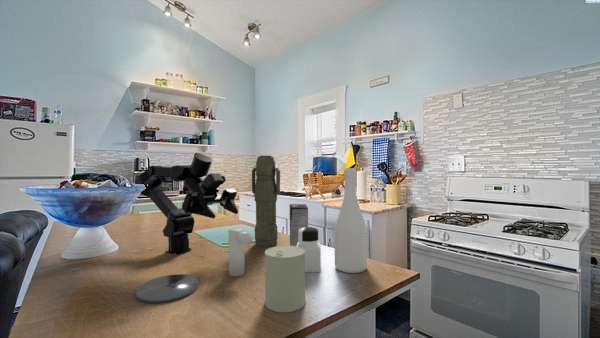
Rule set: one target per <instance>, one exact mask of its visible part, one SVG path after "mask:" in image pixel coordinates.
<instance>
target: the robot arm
mask: <svg viewBox="0 0 600 338" xmlns="http://www.w3.org/2000/svg"><path fill="white" fill-rule="evenodd" d="M212 162H213V158H212V157H210V156H207V155H205V154H202V153H201V152H195V153H194V155H193V159H192V161H191V164H190V165H185V164H184V165H183V164H180V165H179V164H177V165H172V166H164V165H163V166H162V165H149V166H148V167H147V168H146V170H144V171H143V172H142V173H141V174H139V175H138V177H137V179H136V180H135V181H134V185H135V184H144V185H145V187H146V189H145V190H144V191H142V192H141V193H139V194H140V195H141V196H144V197H148V198H149V199H150V200H151V201H152V202H153V203H154V204H155V206H156V207H157V209H159V211H160V212H161V213H162V214H163V215H164V216H165V217H166V223H165V224H166V225H165V226H164V227H163V229H162V233H163V236H164V237H166V238H168V250H165V251H164V253H165V254H172V255H181V254H184V253H186V252H189V251H191V250H192V248H191V247H190V239H189V234H192V233H193V231H194V227H195V222H196V221H195V218H194V216H193V215H197V216H203V217H207V218H210V219H216V214H215V212H214V211H213V210H212V209H211V208H210V207H209V206H210V205H213V204H219V205H220V206H221V207H223V209H224V210H226V211H229V212H230V213H233V214H234V215H238V213H239V210H238V208H237V205H236V202H235V198H236V197H237V194H238V192H237V191H236V190H235V189H234V188H229V189H224V190H222V193H221V195H218V193H219V191H220V189H219V187H220V186H221V185H223V184H224V183H225V182H226V180H227V178H226V177H225V175H224V174H222V173H220V172H214V173H213V172H212V173H210V172H209V171H210V169H211V165H212ZM208 173H209V174H208ZM163 177H164V178H170V180H172V181H173V182H175V183H177V182H178V183H180V182H183V185H182V186H183V187H182V192H183V193H186V194H185V197H184V198H183V199H184V200H183V201H182V204H181V207H180V208H179V207H178V206H177V205H176V204H174V202H173V201H172V200H171V199H170V198H169V197H168V196H167V195H166V193H165V192H164V191H163V190H162V189H161V187H162V184H163V181H164V180H163ZM204 177H205V178H204ZM203 178H204V179H203ZM147 184H148V186H147Z"/></svg>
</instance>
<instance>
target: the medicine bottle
mask: <svg viewBox="0 0 600 338" xmlns="http://www.w3.org/2000/svg"><path fill="white" fill-rule="evenodd" d="M296 246H297V247H300V248H303V249H304V250H305V273H320V272H321V263H322V261H321V260H322V259H321V258H322V257H321V256H322V255H321V247H322V246H321V242H320V241H319V230H318V228H316V227H311V226H308V227H304V228H301V229H299V230H298V243H297V245H296Z"/></svg>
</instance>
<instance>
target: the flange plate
mask: <svg viewBox="0 0 600 338" xmlns="http://www.w3.org/2000/svg"><path fill="white" fill-rule="evenodd" d="M198 288H199V279H198V277H196V276H194V275H191V274H182V273H181V274H180V273H178V274H169V275H164V276H159V277H155V278H153V279H150V280H147V281H145V282H143V283H141V284H140V285H139V286H138V287H137V288H136V290H135V298H136V300H137V301H139V302H141V303H146V304H164V303H169V302H174V301H177V300H181V299H183V298H186V297H188V296H191V295H192V294H193V293H195V292H196V291H197V290H198Z"/></svg>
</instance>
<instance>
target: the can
mask: <svg viewBox="0 0 600 338" xmlns="http://www.w3.org/2000/svg"><path fill="white" fill-rule="evenodd" d="M264 264H265V265H264V269H265V271H264V277H265V278H264V279H265V280H264V281H265V288H264V290H265V294H264V295H265V297H264V298H265V299H264V305H265V308H267V309H269V310H270V311H272V312H276V313H293V312H297V311H299V310H300V309H303V307H304V306H305V305H306V303H307V299H306V287H305V285H306V283H305V281H306V272H305V250H304V249H303V248H300V247H297V246H290V245H278V246H277V245H276V246H274V247H268V248H266V250H264Z"/></svg>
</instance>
